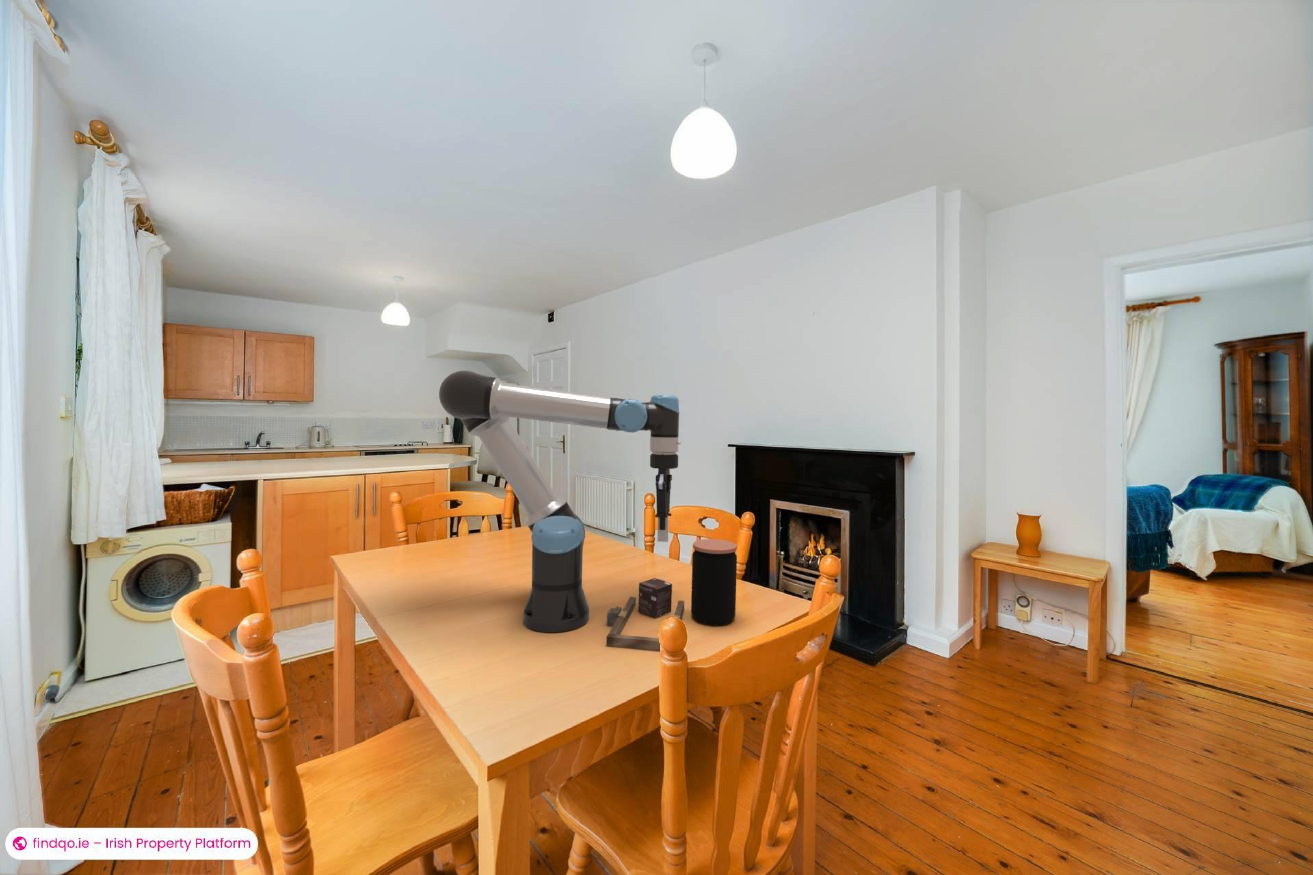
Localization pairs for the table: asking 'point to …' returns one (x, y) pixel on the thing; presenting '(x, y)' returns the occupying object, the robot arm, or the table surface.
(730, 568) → the coffee jar
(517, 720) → the table surface
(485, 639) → the table surface
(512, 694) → the table surface
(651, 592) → the box
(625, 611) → the brown angular bar frame
